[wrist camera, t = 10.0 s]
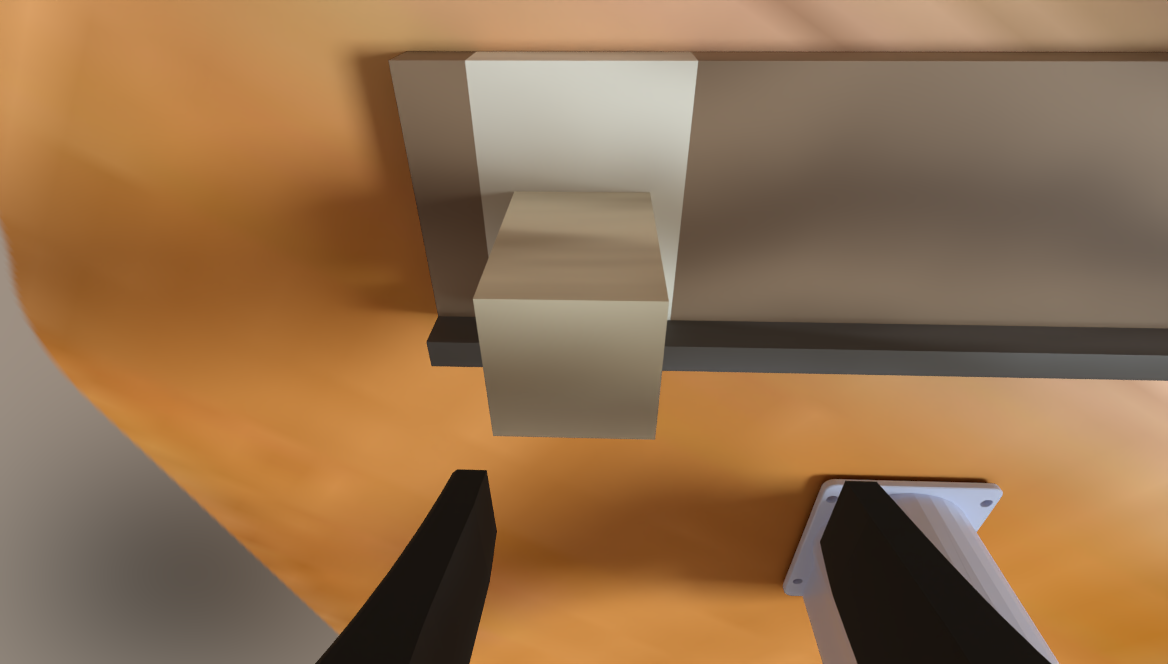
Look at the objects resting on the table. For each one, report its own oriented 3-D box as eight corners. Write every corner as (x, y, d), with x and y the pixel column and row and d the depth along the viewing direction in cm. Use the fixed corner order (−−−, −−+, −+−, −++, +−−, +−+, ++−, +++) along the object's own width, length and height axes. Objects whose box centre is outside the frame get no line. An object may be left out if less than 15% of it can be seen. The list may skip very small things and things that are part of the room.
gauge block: (642, 307, 18) (654, 439, 13) (523, 305, 18) (493, 436, 13) (649, 192, 16) (668, 301, 11) (514, 191, 16) (472, 299, 11)
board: (1159, 327, 20) (1238, 381, 17) (452, 316, 20) (431, 366, 18) (1368, 52, 14) (1524, 73, 12) (406, 51, 15) (367, 71, 13)
